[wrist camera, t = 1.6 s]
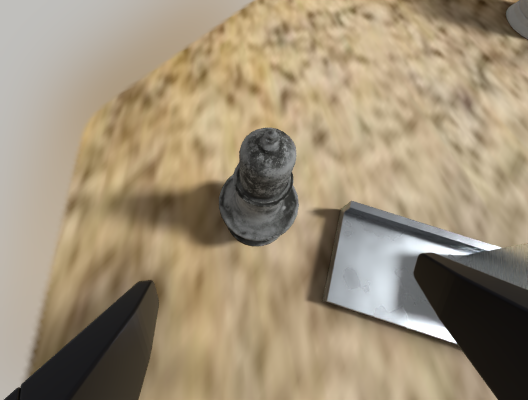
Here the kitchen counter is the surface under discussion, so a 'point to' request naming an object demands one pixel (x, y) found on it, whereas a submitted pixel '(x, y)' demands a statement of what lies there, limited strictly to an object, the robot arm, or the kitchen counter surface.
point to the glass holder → (519, 17)
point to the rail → (404, 266)
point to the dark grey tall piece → (261, 189)
